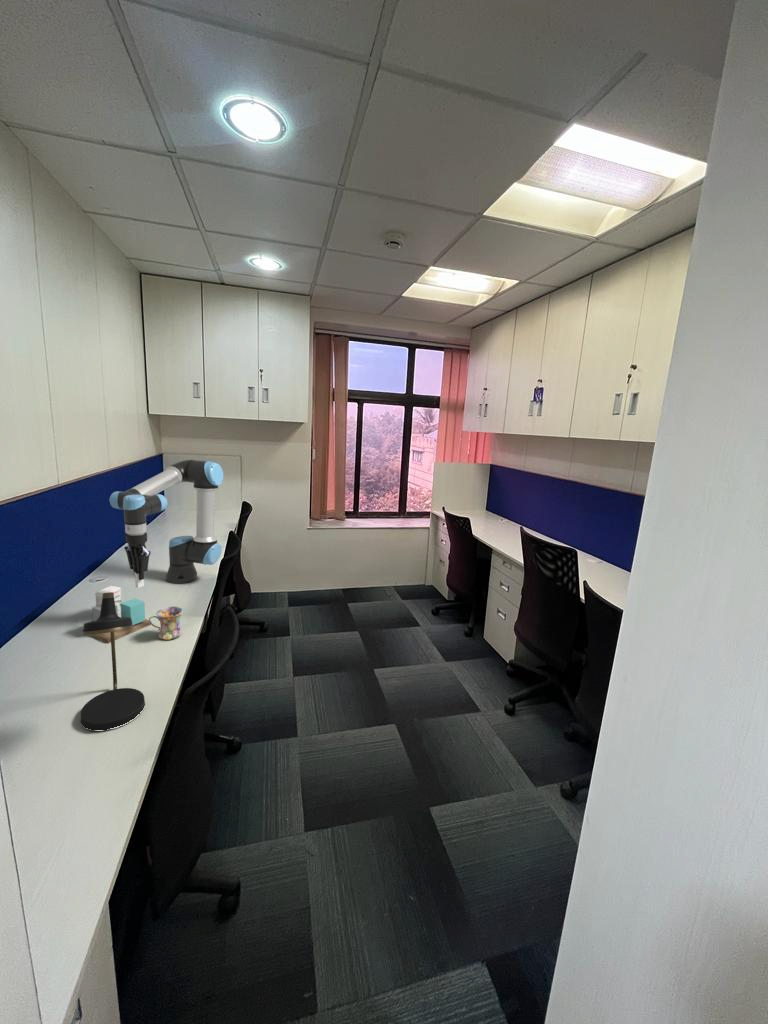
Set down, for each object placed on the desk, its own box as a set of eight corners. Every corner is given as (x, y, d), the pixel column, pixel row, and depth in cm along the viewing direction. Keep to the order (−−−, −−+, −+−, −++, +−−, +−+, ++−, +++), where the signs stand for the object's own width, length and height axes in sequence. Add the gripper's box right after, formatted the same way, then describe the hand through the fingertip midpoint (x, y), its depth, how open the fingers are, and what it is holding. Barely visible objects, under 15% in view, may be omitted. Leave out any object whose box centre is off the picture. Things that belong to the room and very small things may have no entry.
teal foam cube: (135, 616, 173) (134, 598, 172) (145, 620, 171) (144, 601, 169) (121, 621, 168) (120, 603, 166) (131, 625, 166) (130, 607, 164)
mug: (183, 628, 172) (182, 605, 170) (182, 639, 164) (182, 615, 162) (150, 632, 167) (149, 608, 165) (148, 644, 159) (147, 619, 156)
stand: (132, 616, 178) (131, 593, 175) (151, 624, 173) (150, 600, 171) (88, 634, 162) (86, 609, 159) (108, 643, 157) (106, 617, 155)
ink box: (106, 620, 173) (104, 594, 171) (96, 618, 174) (94, 592, 171) (122, 611, 181) (121, 586, 179) (113, 609, 182) (111, 585, 180)
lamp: (76, 741, 111) (66, 610, 103) (85, 694, 129) (76, 579, 121) (145, 724, 119) (140, 601, 111) (144, 681, 137) (139, 573, 129)
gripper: (116, 531, 166) (120, 585, 172) (138, 538, 161) (142, 593, 167) (134, 527, 173) (137, 579, 179) (155, 533, 168) (158, 586, 174)
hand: (139, 586), depth 173 cm, fingers closed
